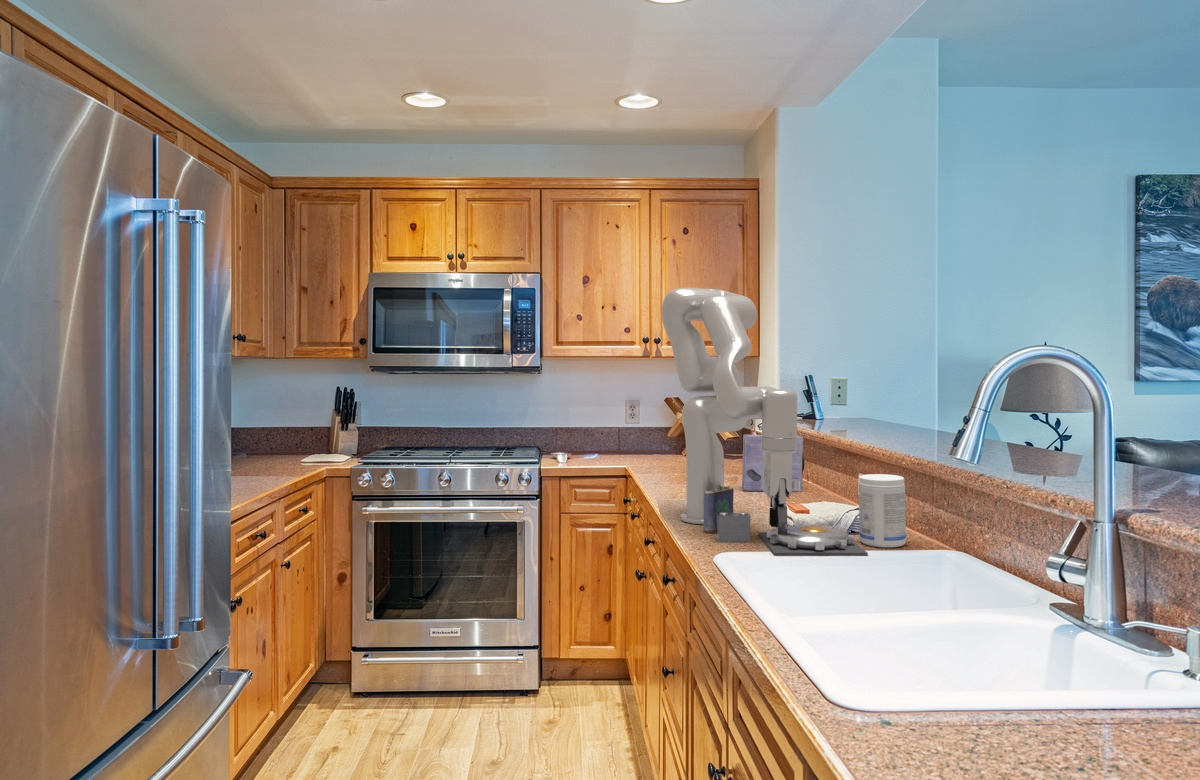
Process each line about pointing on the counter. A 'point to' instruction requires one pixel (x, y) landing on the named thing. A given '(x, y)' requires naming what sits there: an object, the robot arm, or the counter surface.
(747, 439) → the purple product box
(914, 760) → the counter surface
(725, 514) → the grey rectangular block
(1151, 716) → the counter surface
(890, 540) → the supplement tub
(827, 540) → the sprocket
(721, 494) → the flask
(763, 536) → the base mat
